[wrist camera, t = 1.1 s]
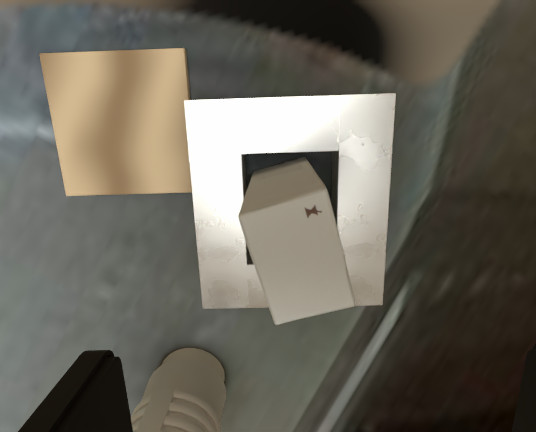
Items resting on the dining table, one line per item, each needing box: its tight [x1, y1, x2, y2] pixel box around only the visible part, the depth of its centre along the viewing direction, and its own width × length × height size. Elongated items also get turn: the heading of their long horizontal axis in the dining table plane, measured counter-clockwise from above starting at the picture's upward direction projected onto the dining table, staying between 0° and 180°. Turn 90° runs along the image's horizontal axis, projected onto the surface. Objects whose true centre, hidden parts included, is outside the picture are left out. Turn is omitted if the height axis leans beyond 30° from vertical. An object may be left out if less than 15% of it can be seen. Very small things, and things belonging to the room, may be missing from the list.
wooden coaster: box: [39, 48, 192, 196], centre depth 26 cm, size 10×10×1 cm
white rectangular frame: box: [184, 93, 396, 309], centre depth 26 cm, size 14×15×3 cm
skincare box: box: [238, 156, 356, 325], centre depth 22 cm, size 6×4×12 cm
